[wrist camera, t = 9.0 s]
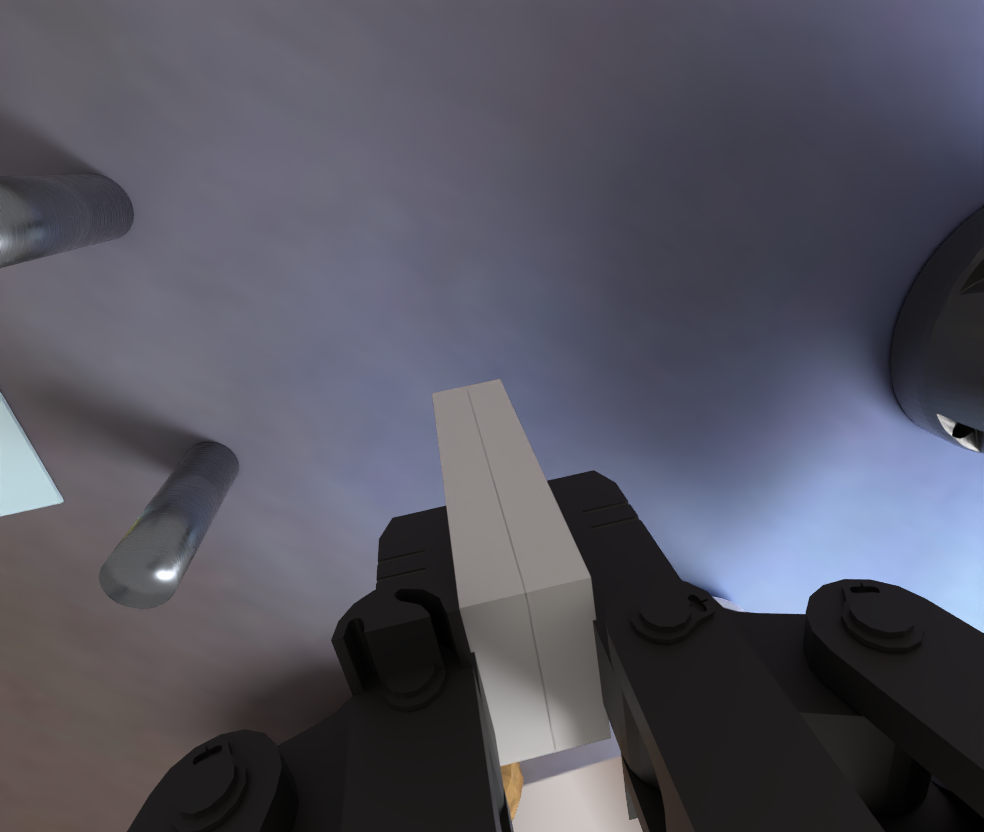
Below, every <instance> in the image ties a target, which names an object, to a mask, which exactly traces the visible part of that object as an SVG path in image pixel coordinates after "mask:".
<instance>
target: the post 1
mask: <svg viewBox="0 0 984 832" xmlns="http://www.w3.org/2000/svg"><path fill="white" fill-rule="evenodd" d="M132 222H133V207H132V204H131V201H130V199H129V197H128V196H127V194H126V193H125V191H124V190H123V189H122V188H121V187H120V186H119V185H118V184H117V183H115V182H114V181H112V180H111V179H109V178H107V177H104V176H101V175H96V174H68V175H28V176H0V268H2V267H6V266H10V265H14V264H18V263H22V262H26V261H30V260H34V259H38V258H42V257H46V256H50V255H53V254H57V253H61V252H65V251H69V250H73V249H77V248H81V247H85V246H89V245H93V244H97V243H101V242H105V241H109V240H113V239H116V238H119V237H121V236H123V235H124V234H125V233H126V232H127V231H128V230H129V229H130V227H131V225H132Z"/></svg>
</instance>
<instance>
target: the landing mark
mask: <svg viewBox="0 0 984 832" xmlns="http://www.w3.org/2000/svg"><path fill="white" fill-rule="evenodd" d="M63 501H64V500H63V498H62V496H61V495H60V493H59V491H58V489H57V488H56V486H55V484H54V483H53V481H52V479H51V477H50V476H49V474H48V472H47V471H46V469H45V467H44V465H43V464H42V462H41V460H40V458H39V457H38V455H37V453H36V452H35V450H34V448H33V446H32V445H31V443H30V441H29V440H28V438H27V436H26V434H25V433H24V431H23V429H22V428H21V426H20V424H19V422H18V421H17V419H16V417H15V416H14V414H13V412H12V410H11V409H10V407H9V405H8V404H7V402H6V400H5V398H4V397H3V395H2V393H1V392H0V516H4V515H9V514H13V513H18V512H22V511H27V510H32V509H36V508H41V507H45V506H50V505H54V504H59V503H62V502H63Z"/></svg>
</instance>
